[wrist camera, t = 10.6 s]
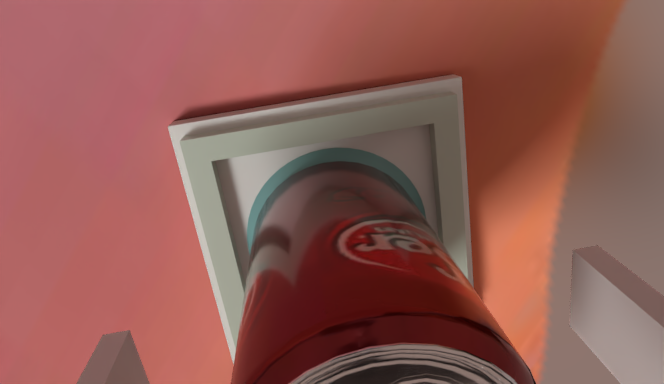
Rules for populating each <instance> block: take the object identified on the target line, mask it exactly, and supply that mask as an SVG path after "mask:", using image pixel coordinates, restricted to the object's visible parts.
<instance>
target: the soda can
mask: <svg viewBox="0 0 664 384" xmlns="http://www.w3.org/2000/svg"><path fill="white" fill-rule="evenodd" d="M231 384H536V382H535V380H534V378H533V376H532V373H531V371H530V369H529V368H528V366H527V365H526V363H525V362H524V360H523V359H522V358H521V356H520V355H519V353H518V352H517V350H516V349H515V347H514V346H513V344H512V343H511V342H510V340H509V339H508V337H507V336H506V334H505V333H504V331H503V330H502V329H501V327H500V326H499V324H498V323H497V321H496V320H495V318H494V317H493V315H492V314H491V313H490V311H489V310H488V308H487V307H486V305H485V304H484V302H483V301H482V300H481V298H480V297H479V295H478V294H477V292H476V291H475V289H474V288H473V287H472V285H471V284H470V282H469V281H468V279H467V278H466V276H465V275H464V273H463V272H462V271H461V269H460V268H459V266H458V265H457V263H456V262H455V260H454V259H453V258H452V256H451V255H450V253H449V252H448V250H447V249H446V247H445V246H444V244H443V243H442V242H441V240H440V239H439V237H438V236H437V234H436V233H435V231H434V230H433V229H432V227H431V226H430V224H429V223H428V221H427V220H426V218H425V217H424V216H423V214H422V213H421V211H420V210H419V208H418V207H417V205H416V204H415V202H414V201H413V200H412V198H411V197H410V196H409V194H408V193H407V192H406V190H405V189H404V188H403V187H402V185H400V184H399V183H398V182H397V181H395V180H394V179H393V178H392V177H391V176H389V175H388V174H386V173H384V172H382V171H380V170H378V169H376V168H375V167H372V166H368V165H365V164H361V163H358V162H348V161H334V162H324V163H320V164H317V165H313V166H310V167H307V168H305V169H303V170H301V171H299V172H297V173H295V174H293V175H291V176H290V177H289V178H287V179H286V180H285V181H283V182H282V183H281V184H280V185H278V186H277V187H276V189H275V190H274V191H273V192H272V193H271V195H270V196H269V197H268V198H267V199H266V201H265V203H264V205H263V207H262V209H261V210H260V212H259V214H258V218H257V221H256V224H255V228H254V233H253V240H252V246H251V253H250V260H249V266H248V273H247V280H246V286H245V293H244V300H243V306H242V313H241V320H240V326H239V333H238V340H237V346H236V353H235V360H234V366H233V373H232V380H231Z"/></svg>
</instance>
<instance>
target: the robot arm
mask: <svg viewBox="0 0 664 384" xmlns="http://www.w3.org/2000/svg"><path fill="white" fill-rule="evenodd" d="M570 327H571V328H572V329H573V330H574V331H575V333H576V334H577V335H578V336H579V337H580V338H581V339H582V340H583V342H584V343H585V344H586V345H587V346H588V347H589V348H590V349H591V351H593V353H594V354H595V355H596V356H597V357H598V358H599V360H600V361H601V362H602V363H603V364H604V365H605V366H606V368H607V369H608V370H609V371H610V372H611V373H612V374H613V375H614V377H615V378H616V379H617V380H618V381H619V382H620V383H621V384H664V296H663V295H661V294H660V293H659V292H658V291H656V290H655V289H654V288H652V287H651V286H650V285H648V284H647V283H646V282H645V281H643V280H642V279H641V278H639V277H638V276H637V275H636V274H634V273H633V272H632V271H630V270H629V269H628V268H627V267H625V266H624V265H623V264H621V263H620V262H619V261H617V260H616V259H615V258H614V257H612V256H611V255H610V254H608V253H607V252H606V251H604V250H603V249H602V248H601V247H599V246H598V245H597V246H591V247H586V248H580V249H575V250H573V255H572V279H571V303H570ZM76 384H149V381H148V378H147V376H146V373H145V370H144V368H143V365H142V362H141V360H140V357H139V354H138V352H137V349H136V346H135V344H134V341H133V338H132V336H131V333H130V330H128V331H122V332H117V333H111V334H106V335H103V336H102V337H101V339H100V341H99V343H98V345H97V347H96V349H95V350H94V352H93V354H92V356H91V358H90V360H89V361H88V363H87V365H86V367H85V369H84V371H83V372H82V374H81V376H80V378H79V380H78V382H77V383H76Z"/></svg>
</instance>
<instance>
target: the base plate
mask: <svg viewBox="0 0 664 384" xmlns="http://www.w3.org/2000/svg"><path fill="white" fill-rule="evenodd" d="M168 129H169V133H170V136H171V140H172V144H173V147H174V151H175V155H176V158H177V162H178V165H179V169H180V173H181V176H182V180H183V183H184V187H185V191H186V194H187V198H188V202H189V205H190V209H191V212H192V216H193V220H194V223H195V227H196V231H197V234H198V238H199V241H200V245H201V249H202V252H203V256H204V260H205V263H206V267H207V270H208V274H209V278H210V281H211V285H212V289H213V292H214V296H215V299H216V303H217V307H218V310H219V314H220V318H221V321H222V325H223V328H224V332H225V336H226V339H227V343H228V347H229V350H230V354H231V357H232V361H233V365H234V360H235V353H236V346H237V340H238V333H239V326H240V320H241V313H242V306H243V300H244V293H245V286H246V280H247V273H248V266H249V260H250V253H251V246H252V240H253V233H254V228H255V224H256V221H257V218H258V214H259V212H260V210H261V209H262V207H263V205H264V203H265V201H266V199H267V198H268V197H269V196H270V195H271V193H272V192H273V191H274V190H275V189H276V187H277V186H278V185H280V184H281V183H282V182H283V181H285V180H286V179H287V178H289V177H290V176H291V175H293V174H295V173H297V172H299V171H301V170H303V169H305V168H307V167H310V166H313V165H317V164H320V163H324V162H334V161H348V162H358V163H361V164H365V165H368V166H372V167H375V168H376V169H378V170H380V171H382V172H384V173H386V174H388V175H389V176H391V177H392V178H393V179H394V180H395V181H397V182H398V183H399V184H400V185H402V187H403V188H404V189H405V190H406V192H407V193H408V194H409V196H410V197H411V198H412V200H413V201H414V202H415V204H416V205H417V207H418V208H419V210H420V211H421V213H422V214H423V216H424V217H425V218H426V220H427V221H428V223H429V224H430V226H431V227H432V229H433V230H434V231H435V233H436V234H437V236H438V237H439V239H440V240H441V242H442V243H443V244H444V246H445V247H446V249H447V250H448V252H449V253H450V255H451V256H452V258H453V259H454V260H455V262H456V263H457V265H458V266H459V268H460V269H461V271H462V272H463V273H464V275H465V276H466V278H467V279H468V281H469V282H470V284H471V285H472V287H473V288H474V285H473V267H472V250H471V232H470V214H469V196H468V179H467V161H466V143H465V126H464V108H463V90H462V77H460V76H457V75H455V74H452V75H446V76H440V77H434V78H428V79H422V80H416V81H410V82H404V83H399V84H393V85H387V86H381V87H375V88H369V89H363V90H357V91H351V92H345V93H339V94H333V95H327V96H321V97H315V98H309V99H303V100H297V101H291V102H285V103H279V104H273V105H268V106H262V107H256V108H250V109H244V110H238V111H232V112H226V113H220V114H214V115H208V116H202V117H196V118H190V119H184V120H178V121H173V122H172V123H171V124H170V125H169V126H168Z"/></svg>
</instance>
